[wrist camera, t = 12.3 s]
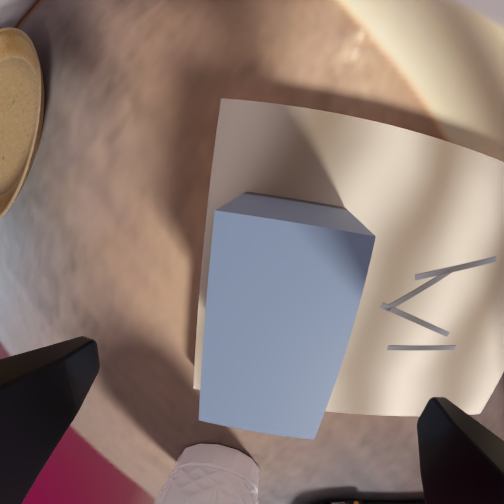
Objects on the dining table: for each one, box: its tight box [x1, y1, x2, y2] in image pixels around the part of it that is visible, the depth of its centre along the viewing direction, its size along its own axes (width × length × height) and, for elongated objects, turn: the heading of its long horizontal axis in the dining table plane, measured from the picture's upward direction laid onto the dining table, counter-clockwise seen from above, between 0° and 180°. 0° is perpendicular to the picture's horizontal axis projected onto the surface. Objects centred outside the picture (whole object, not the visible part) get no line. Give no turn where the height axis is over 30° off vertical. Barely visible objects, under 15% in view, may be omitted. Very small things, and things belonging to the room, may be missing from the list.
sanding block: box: [199, 192, 376, 440], centre depth 13 cm, size 4×8×6 cm, turn 173°
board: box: [193, 98, 504, 416], centre depth 16 cm, size 20×16×2 cm
